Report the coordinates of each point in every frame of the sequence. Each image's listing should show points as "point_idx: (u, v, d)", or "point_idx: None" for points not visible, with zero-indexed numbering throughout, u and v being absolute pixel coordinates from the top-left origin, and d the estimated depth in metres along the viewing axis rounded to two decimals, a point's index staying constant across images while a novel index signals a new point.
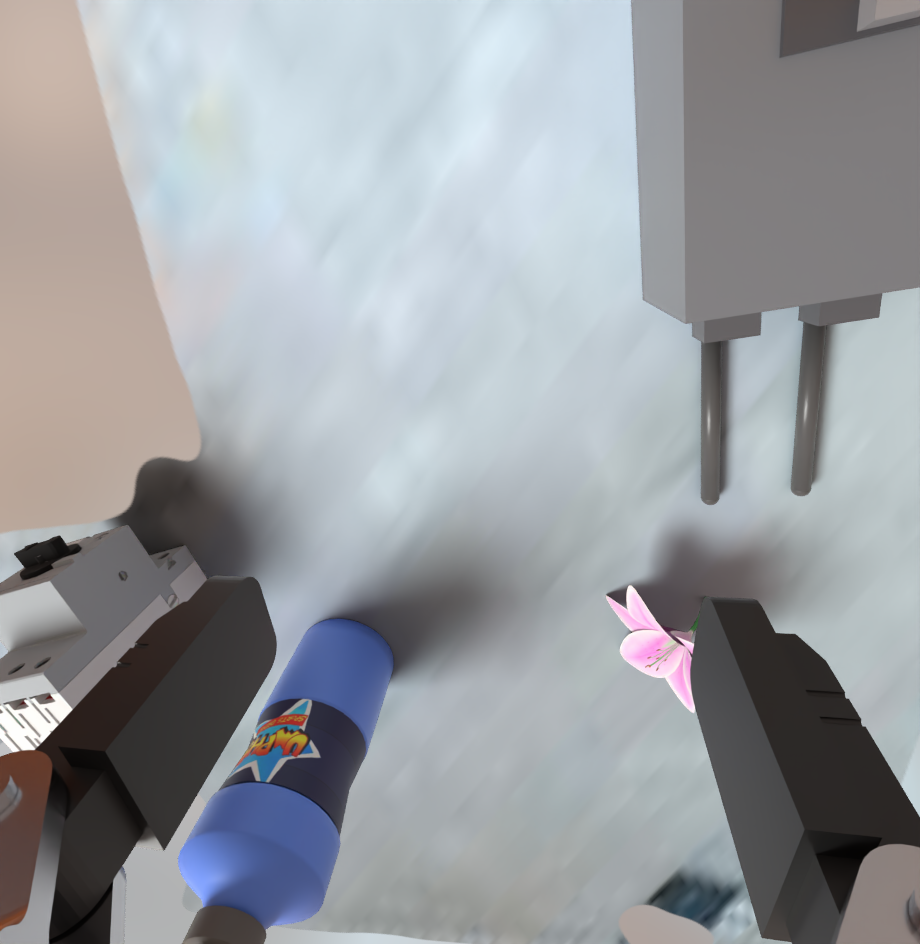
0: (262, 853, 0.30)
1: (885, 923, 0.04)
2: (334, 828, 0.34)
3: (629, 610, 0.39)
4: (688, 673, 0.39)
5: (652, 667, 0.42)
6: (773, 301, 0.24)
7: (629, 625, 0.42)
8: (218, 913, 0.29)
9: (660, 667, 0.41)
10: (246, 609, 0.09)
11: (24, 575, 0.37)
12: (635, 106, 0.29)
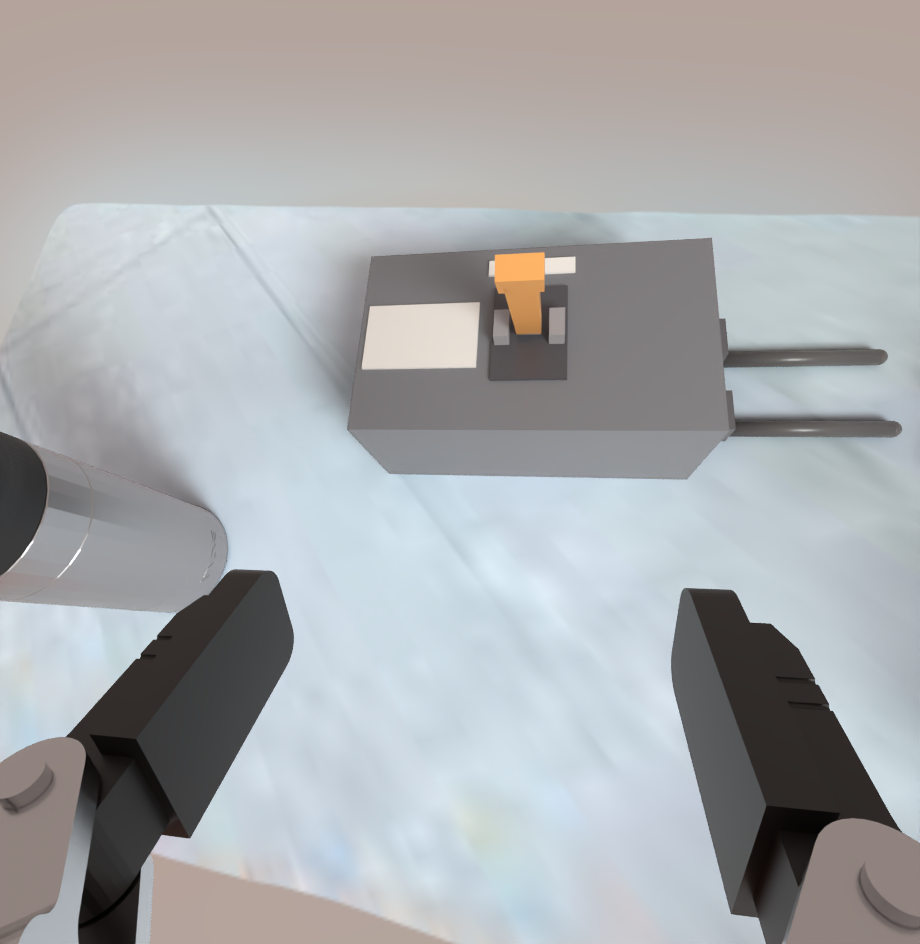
0: None
1: (838, 894, 0.05)
2: None
3: None
4: None
5: None
6: (717, 374, 0.32)
7: None
8: None
9: None
10: (266, 602, 0.10)
11: None
12: (549, 476, 0.42)
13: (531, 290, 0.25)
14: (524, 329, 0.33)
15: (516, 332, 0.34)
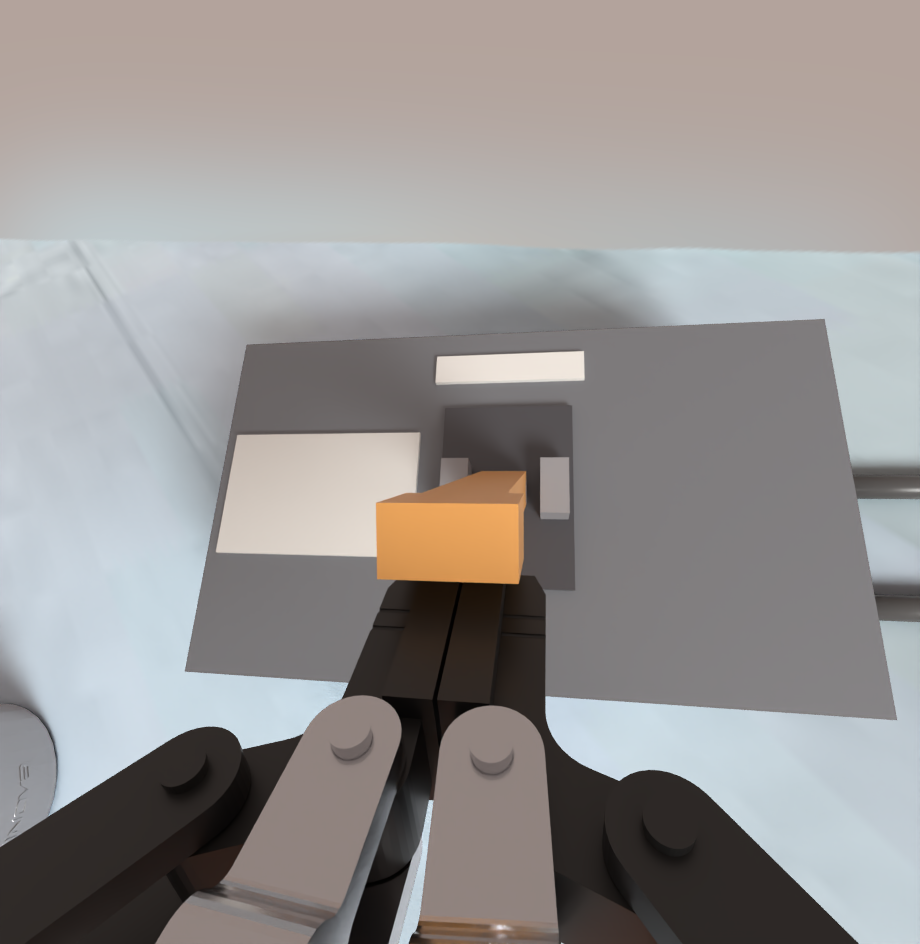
0: None
1: (458, 779, 0.06)
2: None
3: None
4: None
5: None
6: (861, 592, 0.17)
7: None
8: None
9: None
10: None
11: None
12: None
13: None
14: None
15: None
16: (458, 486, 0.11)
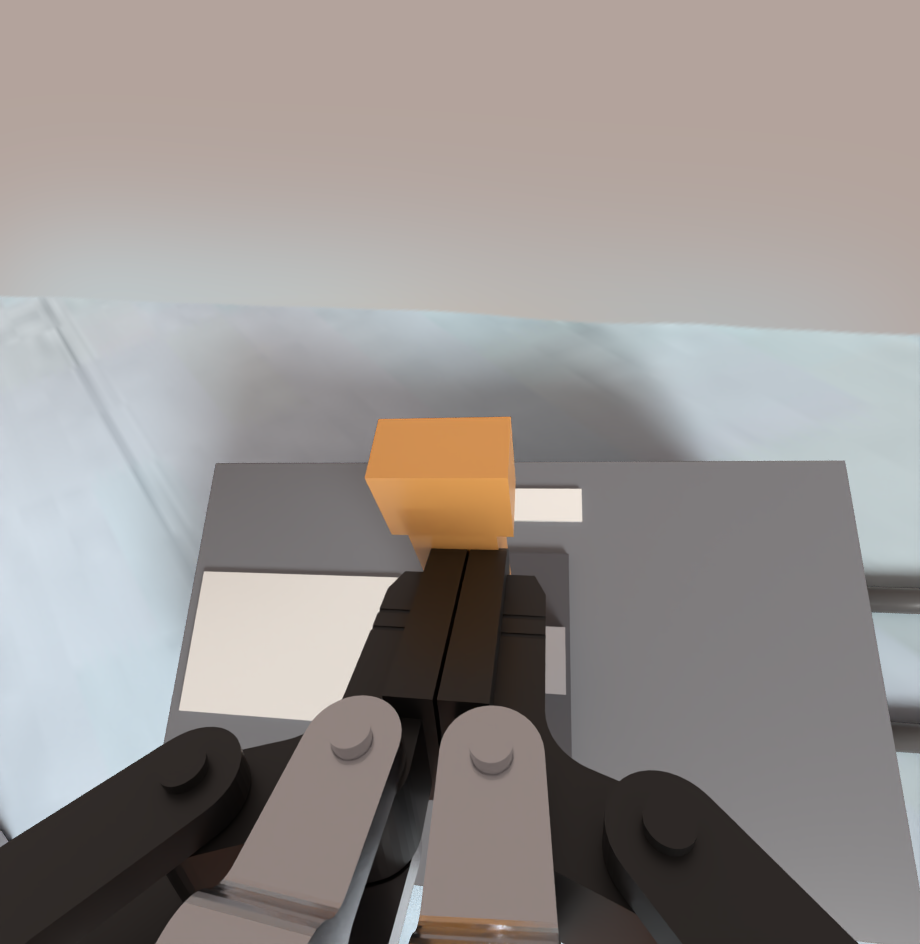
0: None
1: (458, 779, 0.06)
2: None
3: None
4: None
5: None
6: (888, 792, 0.15)
7: None
8: None
9: None
10: None
11: None
12: None
13: (477, 528, 0.09)
14: None
15: None
16: None
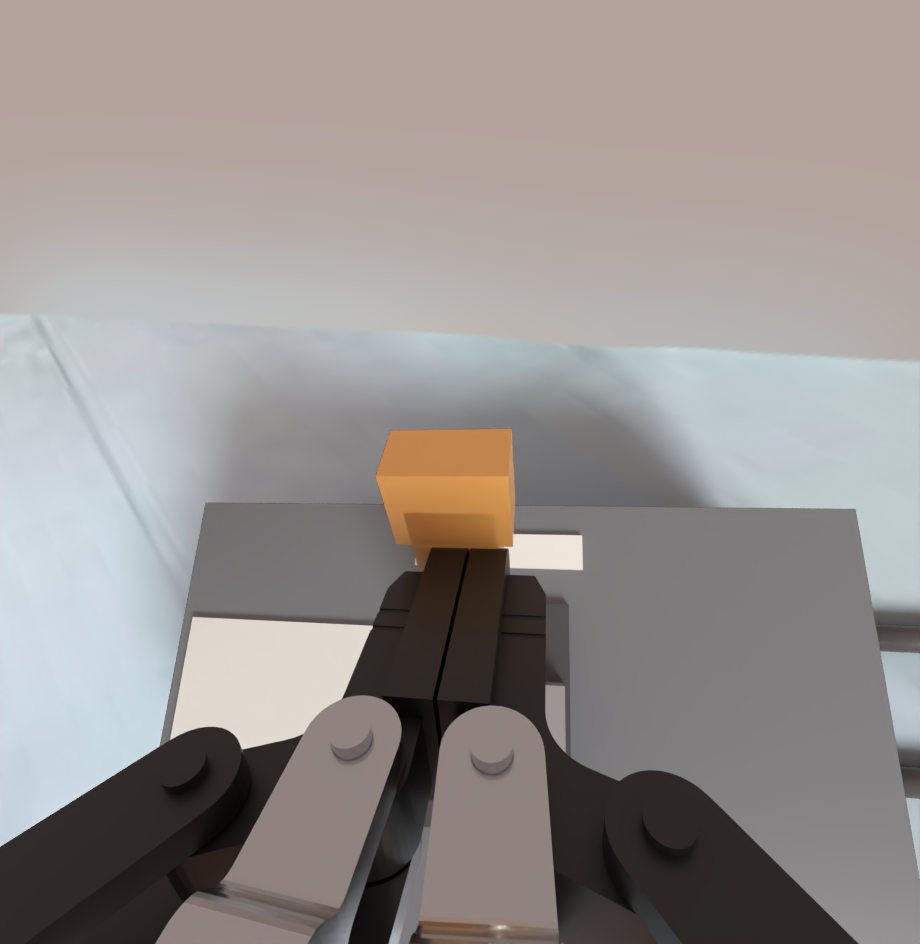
0: None
1: (458, 779, 0.06)
2: None
3: None
4: None
5: None
6: (902, 864, 0.15)
7: None
8: None
9: None
10: None
11: None
12: None
13: (478, 535, 0.09)
14: None
15: None
16: None
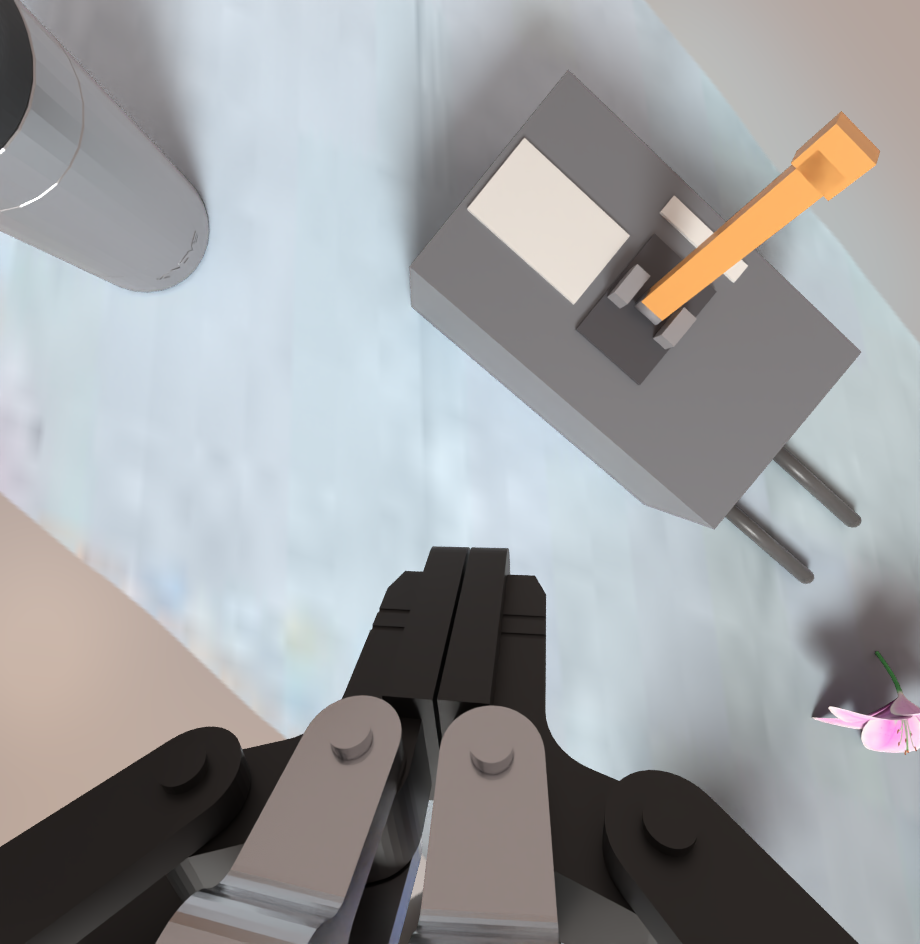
0: None
1: (458, 779, 0.06)
2: None
3: (845, 720, 0.41)
4: None
5: (906, 744, 0.42)
6: (749, 477, 0.32)
7: (854, 726, 0.44)
8: None
9: (911, 739, 0.42)
10: None
11: None
12: (546, 421, 0.41)
13: (825, 185, 0.21)
14: (665, 294, 0.28)
15: (648, 296, 0.28)
16: None
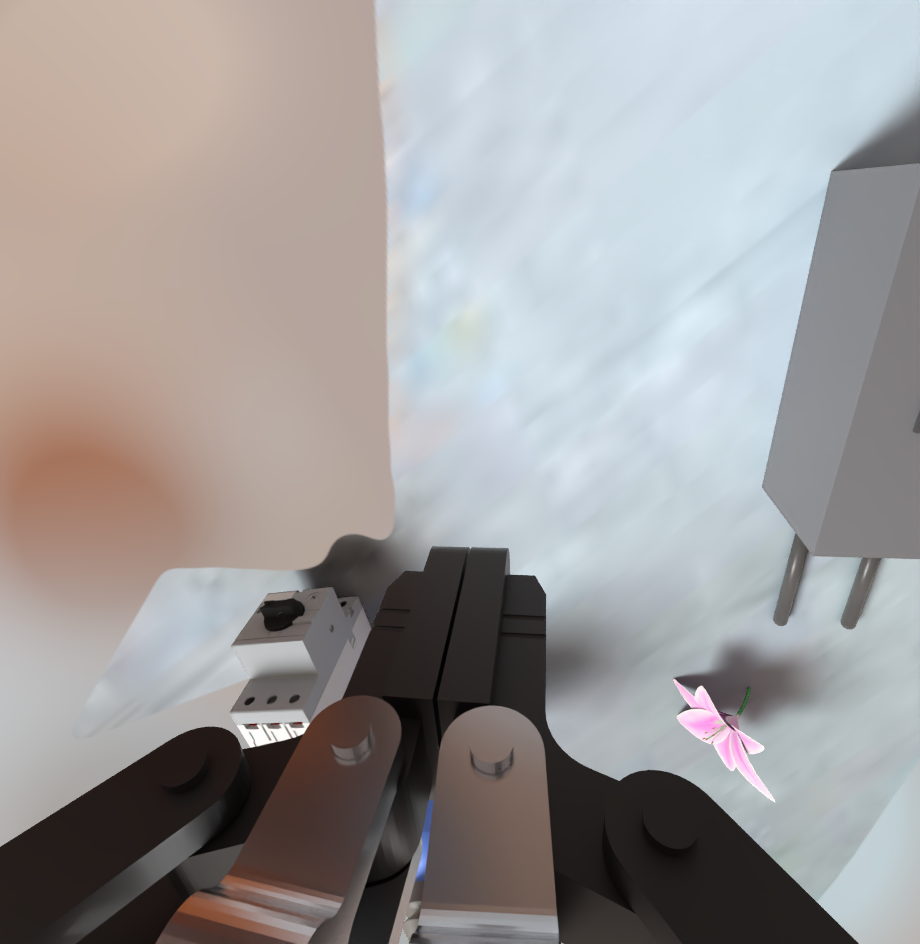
0: None
1: (458, 779, 0.06)
2: None
3: (695, 698, 0.53)
4: (734, 747, 0.53)
5: (704, 735, 0.56)
6: (874, 553, 0.36)
7: (689, 703, 0.57)
8: None
9: (710, 736, 0.56)
10: None
11: (271, 628, 0.49)
12: None
13: None
14: None
15: None
16: None
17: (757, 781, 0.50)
